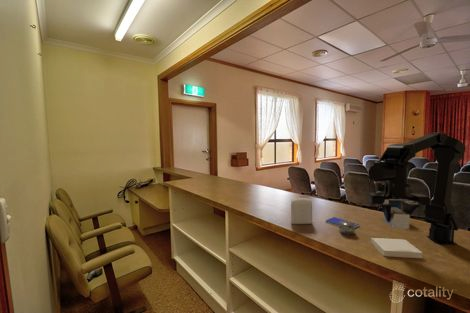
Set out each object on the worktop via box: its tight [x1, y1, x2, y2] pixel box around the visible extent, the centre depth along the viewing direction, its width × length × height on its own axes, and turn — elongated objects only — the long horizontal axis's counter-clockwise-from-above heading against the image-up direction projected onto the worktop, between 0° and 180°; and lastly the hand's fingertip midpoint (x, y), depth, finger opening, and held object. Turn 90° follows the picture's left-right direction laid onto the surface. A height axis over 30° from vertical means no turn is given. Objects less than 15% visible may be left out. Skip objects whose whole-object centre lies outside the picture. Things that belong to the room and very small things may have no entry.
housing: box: [382, 207, 411, 230], centre depth 80 cm, size 7×5×6 cm
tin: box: [338, 220, 356, 236], centre depth 97 cm, size 6×6×4 cm
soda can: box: [385, 195, 402, 210], centre depth 112 cm, size 7×7×12 cm
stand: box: [370, 237, 423, 259], centre depth 81 cm, size 12×10×2 cm
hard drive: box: [325, 216, 360, 229], centre depth 106 cm, size 2×8×12 cm
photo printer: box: [290, 197, 313, 225], centre depth 108 cm, size 10×4×12 cm, turn 90°
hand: (395, 221), depth 80 cm, fingers closed on housing, 5 cm apart
